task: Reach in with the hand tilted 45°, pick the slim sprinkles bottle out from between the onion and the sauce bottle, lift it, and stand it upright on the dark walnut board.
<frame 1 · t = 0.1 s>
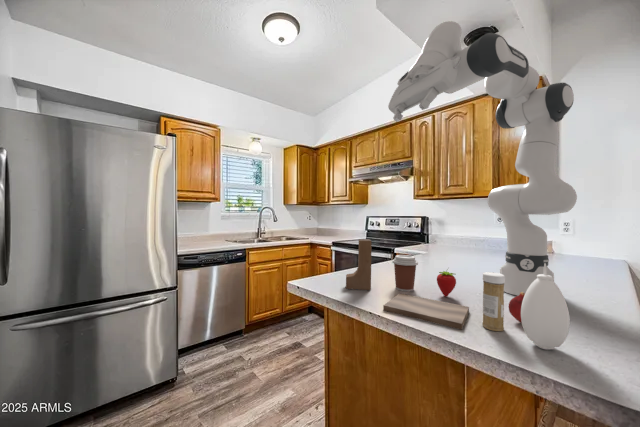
hand: (409, 114, 68), 54 cm above the countertop, tool tilted 30°, fingers open, 8 cm apart
onion: (522, 324, 67), on the countertop
sauce bottle: (543, 348, 55), on the countertop
wooden block: (358, 288, 96), on the countertop
walnut board: (426, 311, 74), on the countertop
strawberry: (445, 297, 88), on the countertop
sprinkles bottle: (492, 328, 64), on the countertop
coffee cup: (404, 289, 96), on the countertop
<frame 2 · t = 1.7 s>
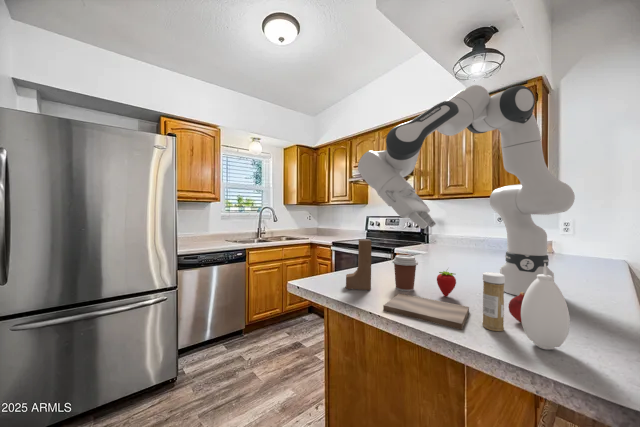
hand: (429, 226, 73), 24 cm above the countertop, tool tilted 45°, fingers open, 8 cm apart
nothing on the countertop moved.
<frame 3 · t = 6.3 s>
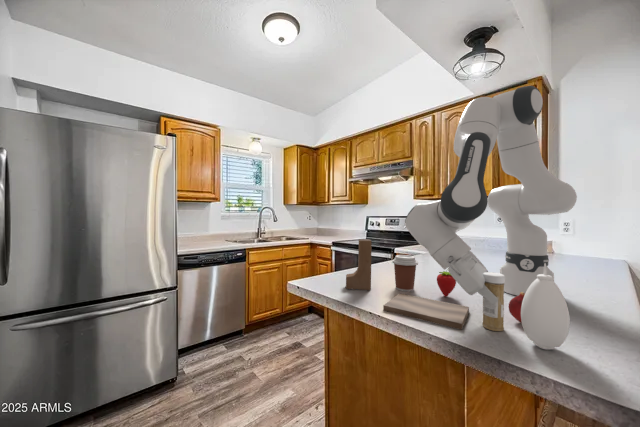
hand: (496, 298, 64), 7 cm above the countertop, tool tilted 45°, fingers closed on sprinkles bottle, 4 cm apart
sprinkles bottle: (492, 328, 64), on the countertop, touching gripper
everything else where it was.
when the fingers open (10 cm above the countertop, at t = 12.2 s): sprinkles bottle drops 1 cm, resting on walnut board.
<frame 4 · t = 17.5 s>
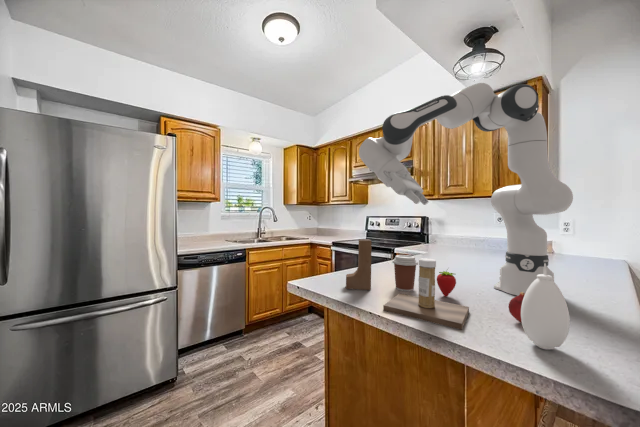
hand: (422, 202, 83), 31 cm above the countertop, tool tilted 45°, fingers open, 8 cm apart
sprinkles bottle: (426, 306, 75), point 1 cm above the countertop, touching walnut board
everything else where it was.
at the end: sprinkles bottle inside the target area on the walnut board (0.1 cm from its centre), point 1.3 cm above the walnut board's base; sprinkles bottle tilted 1°; the gripper is holding nothing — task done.
